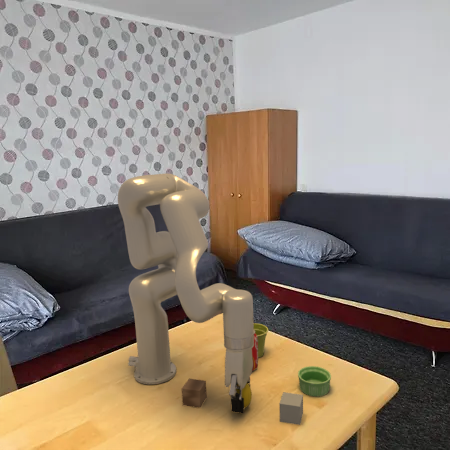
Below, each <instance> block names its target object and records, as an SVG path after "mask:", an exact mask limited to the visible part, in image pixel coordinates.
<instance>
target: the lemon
mask: <svg viewBox="0 0 450 450" xmlns="http://www.w3.org/2000/svg"><path fill="white" fill-rule="evenodd" d="M237 386H239V384H237ZM239 391H240V390H239V389H236V392H237V393H239ZM252 395H253V394H252V389H251V385H250V386H249V384H248V383H246V385H245V387H244V388H243V395H242V398H244V409H246V408H247V407H248V406H250V404H251V401H252V397H253V396H252ZM229 396H230V395H229ZM230 399H231V396H230Z"/></svg>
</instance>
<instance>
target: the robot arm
mask: <svg viewBox="0 0 450 450" xmlns="http://www.w3.org/2000/svg"><path fill="white" fill-rule="evenodd" d="M117 205H118V208H119V209H118V210H119V211H120V214H121V218H122V220H123V225H124V231H125V232H124V233H125V238H126V239H125V240H126V244H127V251H128V253H127V254H128V256H129V262H130V264H131V266H132V267H133V268H134V269H136V270H145V269H151V268H153V267H156V266H157V267H158V268H157V269H153V270H150V271H147V272H144V273H142V274H141V273H140V274H139V275H137V276H135V277H134V278H133V279H132V280H131V282H130V283H129V285H128V295H129V298H130V303H131V306H132V310H133V315H134V316H133V317H134V323H135V324H134V325H135V326H134V327H135V336H136V338H135V339H136V347H137V348H136V350H137V356H134V355H133V356H132V355H130V356H129V357H128V363H127V365H128V366H129V367H134V368H135V370H134V372H133V376H134V379H135V381H137V382H138V383H140V384H144V385H158V384H163V383H166V382H168V381H170V380H171V379H172V378H173V377H175V376H176V374H177V366H176V364H175V363H173V362H172V361H171V350H170V349H171V348H170V334H169V322H168V321H169V320H168V315H167V312H166V310H164V308H163V307H162V304H161V303H162V302H165V301H166V300H168V299H171V298H173V297H174V296H177V297H178V299H179V301H180V304H181V307H182V309H183V311H184V313H185V315H186V316H187V317H188V319H189V320H191V321H192V322H193V323H197V324H202V323H205V322H207V321H210V320H212V319H213V318H215V317H217V316H219V315H221V314H222V321H223V323H222V325H223V346H224V348H225V349H226V350H225V356H224V386H225V388H229V394H228V395H229V396H231V398H230V405H231V406H230V407H231V409H230V410H231V412H232V413H237V414H244V413H245V408H244V398H242V395H243V388H244V387H245V385H246V383H248V384H249V386H250V387H251V375H252V372H253V371H252V348H253V346H254V325H253V323H254V299H253V298H254V297H253V295H252V293H251V292H250V291H249V290H244V289H236V288H234V287H232V286H230V285H227V284H225V283H223V282H219V283H214V284H212V285H209V286H207V287H204V288H202V289H200V287H199V284H198V281H197V280H198V279H197V267H198V263H199V261H200V259H201V257H202V256H203V254H204V253H205V252H206V250H207V248H208V246H209V241H208V239H207V237H206V234H205V231H204V228H203V227H202V224H201V222H200V219H203V218H205V217H206V216H207V215H208V213H209V211H210V202H209V199H208V197H207V196H206V194H205V193H204V192H203V191H202V190H201V189H199V188H198V187H197V186H195V185H194V184H191V183H190V182H188V181H186V180H184V179H183V178H181V177H179V176H177V175H175V174H174V173H167V172H165V173H157V174H147V175H145V174H144V175H143V174H142V175H138V176H133V177H130V178H128V179H126V180H125V181H124V182H122V184H121V185H120V187H119V189H118V193H117ZM155 205H156V206H157V205H159V208H160V209H159V210H160V213H161V216H162V218H163V221H164V224H165V226H166V229H167V230H162V231H158V232H156V231H157V230H156V224H155V220H154V217H153V215H152V214H151V212H150V210H149V209H148V208H147V207H149V206H155ZM237 384H239V386H237ZM236 389H239V390H240V391H239V393H237V392H236Z"/></svg>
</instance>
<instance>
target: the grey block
mask: <svg viewBox="0 0 450 450" xmlns="http://www.w3.org/2000/svg"><path fill="white" fill-rule="evenodd" d="M278 404H279V422H281V423H286V424H292V425H299V426H301V424H302V419H303V415H304V394H300V393H299V394H298V393H292V392H282V395H281V397H280V401H279V403H278Z"/></svg>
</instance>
